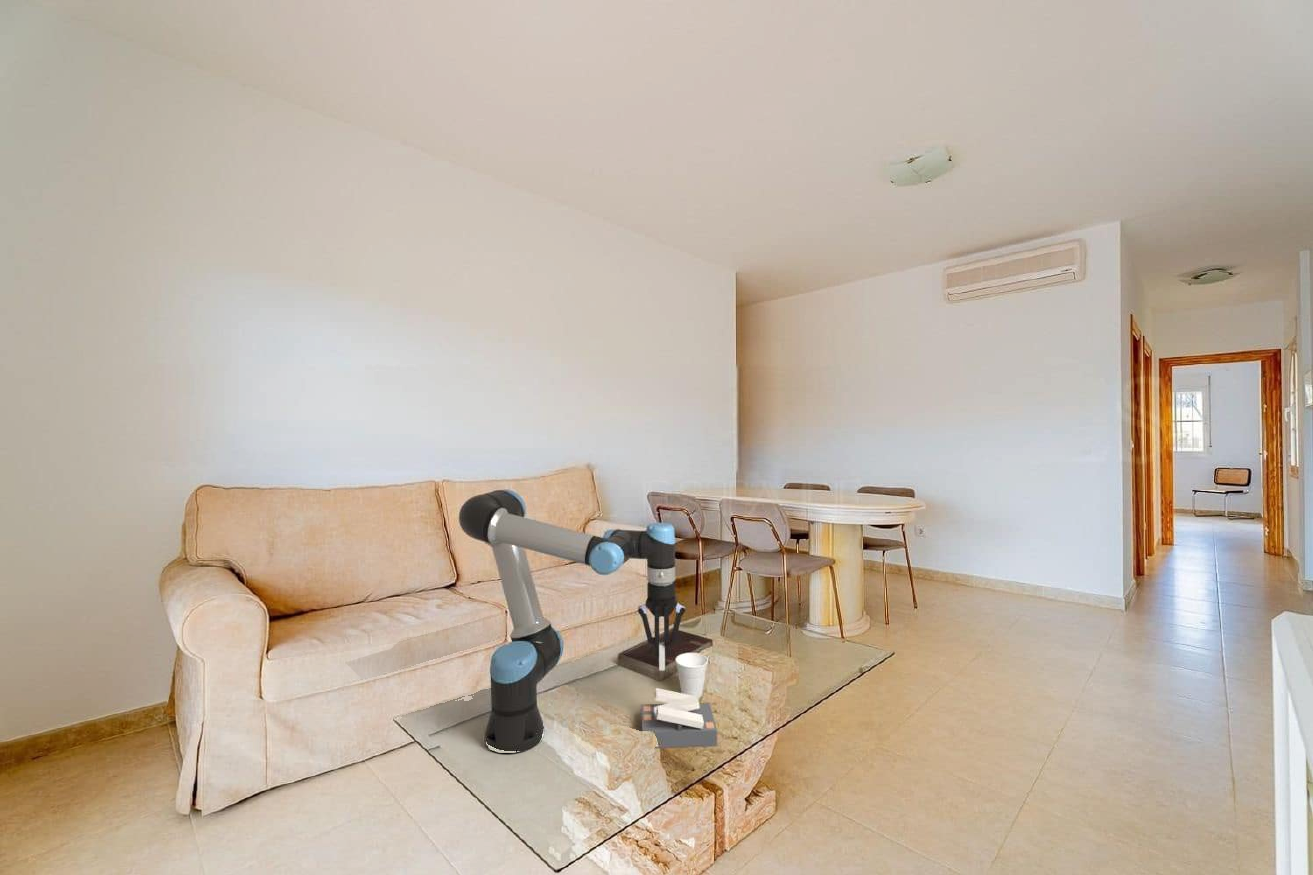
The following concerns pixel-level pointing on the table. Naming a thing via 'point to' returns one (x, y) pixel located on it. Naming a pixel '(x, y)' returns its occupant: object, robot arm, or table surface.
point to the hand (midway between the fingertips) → (661, 667)
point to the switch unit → (680, 728)
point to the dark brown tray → (648, 665)
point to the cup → (692, 673)
